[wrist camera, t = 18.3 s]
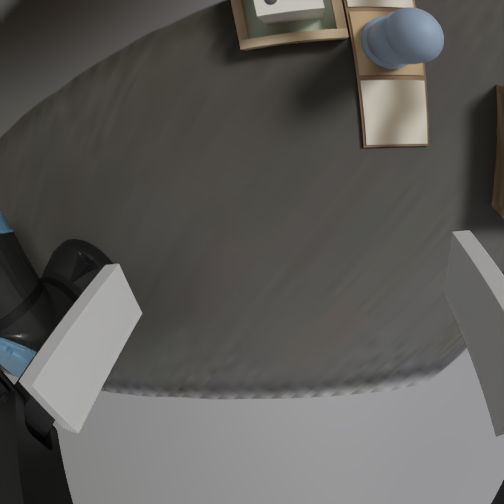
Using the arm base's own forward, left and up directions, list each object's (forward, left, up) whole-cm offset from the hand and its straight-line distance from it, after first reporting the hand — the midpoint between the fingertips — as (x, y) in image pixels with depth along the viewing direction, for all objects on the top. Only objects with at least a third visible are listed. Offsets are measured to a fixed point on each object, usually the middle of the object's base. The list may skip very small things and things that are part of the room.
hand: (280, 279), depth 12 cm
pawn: (+11, +10, -27) cm, 30 cm away
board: (+11, +10, -27) cm, 31 cm away
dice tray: (+1, +16, -27) cm, 31 cm away
